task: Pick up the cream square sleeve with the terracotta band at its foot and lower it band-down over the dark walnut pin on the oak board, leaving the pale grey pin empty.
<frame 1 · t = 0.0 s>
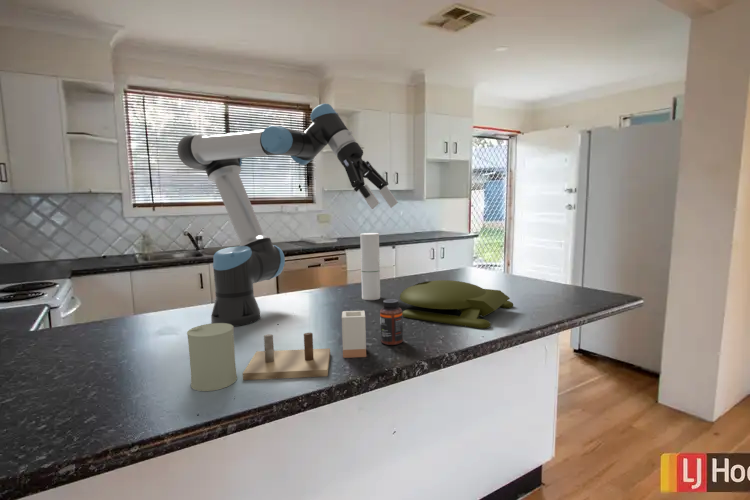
hand: (385, 205, 122), 36 cm above the counter, tool tilted 35°, fingers open, 13 cm apart
sleeve: (354, 353, 103), on the counter
pin board: (289, 366, 95), on the counter
supplement bottle: (391, 342, 110), on the counter
can: (214, 382, 88), on the counter
cylindrical container: (371, 298, 161), on the counter
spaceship: (450, 312, 140), on the counter
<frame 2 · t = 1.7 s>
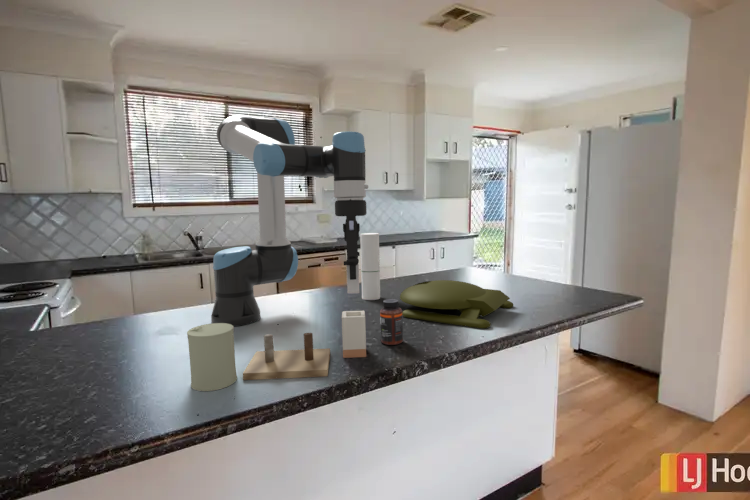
hand: (353, 287, 101), 17 cm above the counter, tool pointing down, fingers open, 13 cm apart
nothing on the counter moved.
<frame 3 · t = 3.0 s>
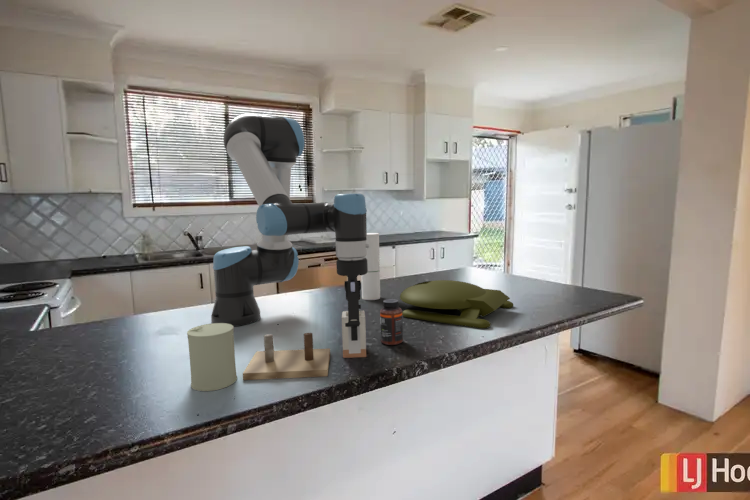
hand: (354, 343, 102), 3 cm above the counter, tool pointing down, fingers open, 13 cm apart
nothing on the counter moved.
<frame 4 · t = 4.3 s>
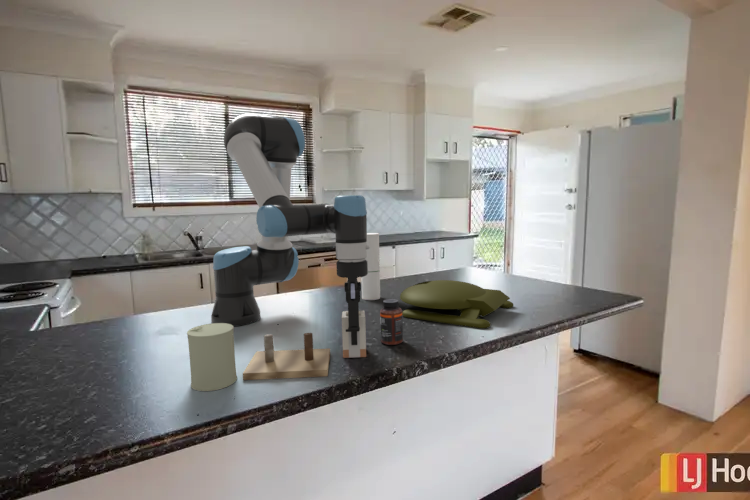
hand: (354, 351, 103), 0 cm above the counter, tool pointing down, fingers closed on sleeve, 6 cm apart
sleeve: (354, 353, 103), on the counter, touching gripper
everything else where it was.
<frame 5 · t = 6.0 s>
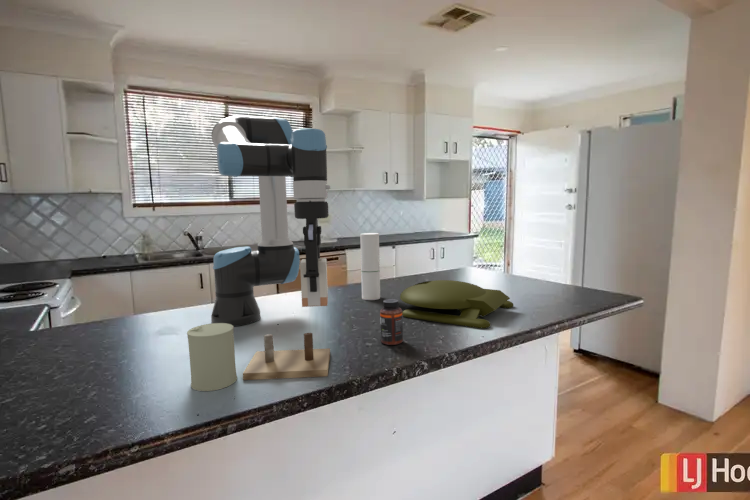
hand: (315, 301, 95), 15 cm above the counter, tool pointing down, fingers closed on sleeve, 6 cm apart
sleeve: (315, 303, 95), point 14 cm above the counter, touching gripper
everything else where it was.
when the fingers open (3 cm above the counter, at t = 8.2 s): sleeve drops 1 cm, resting on pin board.
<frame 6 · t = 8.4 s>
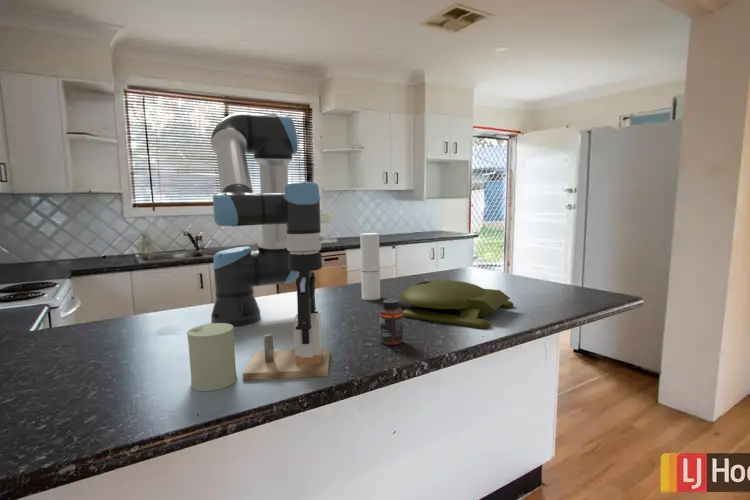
hand: (308, 349, 95), 4 cm above the counter, tool pointing down, fingers open, 8 cm apart
sleeve: (309, 359, 96), point 1 cm above the counter, touching pin board
everything else where it was.
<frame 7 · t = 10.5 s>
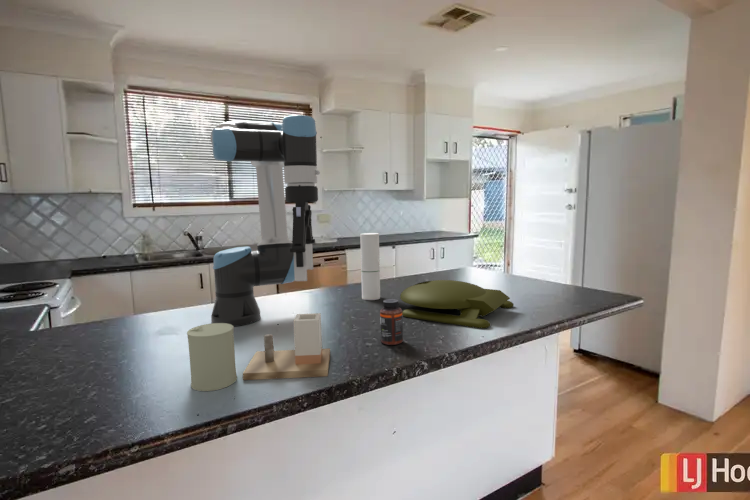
hand: (304, 274, 99), 20 cm above the counter, tool pointing down, fingers open, 13 cm apart
nothing on the counter moved.
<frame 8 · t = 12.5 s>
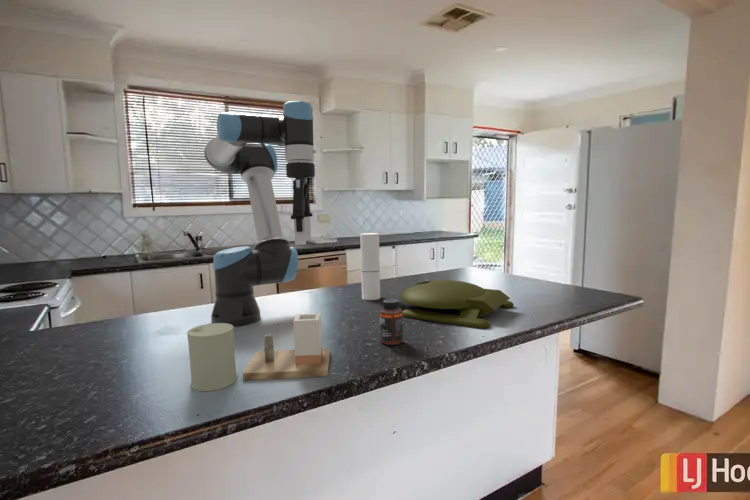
hand: (303, 242, 113), 27 cm above the counter, tool pointing down, fingers open, 13 cm apart
nothing on the counter moved.
at the end: sleeve 0.0 cm from the target spot on the pin board, point 1.5 cm above the pin board's base; sleeve tilted 0°; the gripper is holding nothing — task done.
